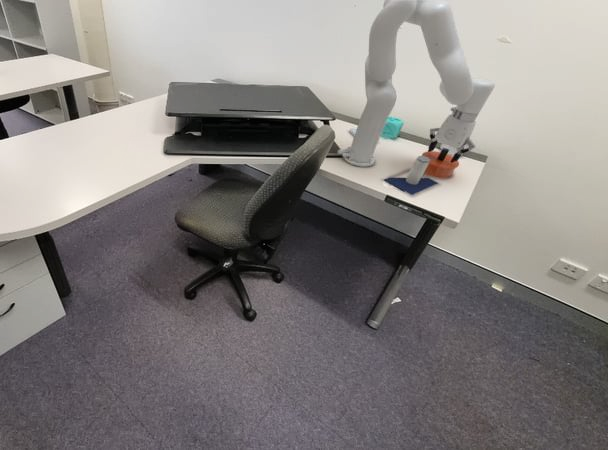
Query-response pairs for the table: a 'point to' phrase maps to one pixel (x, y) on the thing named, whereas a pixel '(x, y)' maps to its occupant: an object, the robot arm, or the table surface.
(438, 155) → the pot lid
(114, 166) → the table surface
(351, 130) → the hard drive
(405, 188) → the towel
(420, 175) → the salt shaker
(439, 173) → the pot
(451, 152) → the medicine bottle
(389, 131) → the decorative dice
